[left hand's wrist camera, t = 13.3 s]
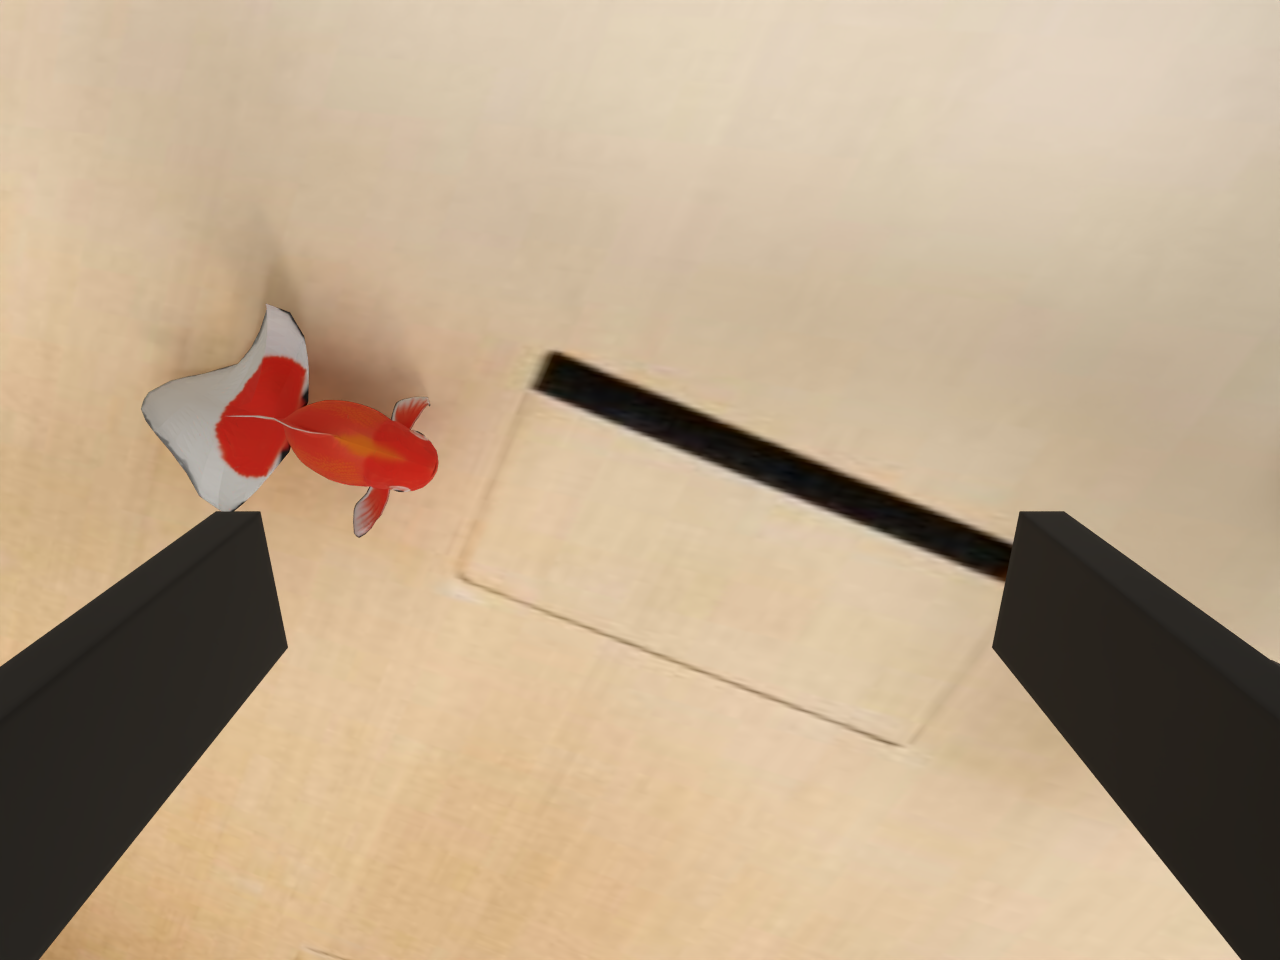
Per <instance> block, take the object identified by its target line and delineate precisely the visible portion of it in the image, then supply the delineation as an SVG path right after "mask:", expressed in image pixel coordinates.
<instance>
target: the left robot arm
mask: <svg viewBox="0 0 1280 960" xmlns="http://www.w3.org/2000/svg"><path fill="white" fill-rule="evenodd" d="M287 648H288V646H287V641H286V636H285V631H284V626H283V621H282V616H281V611H280V606H279V601H278V596H277V591H276V586H275V581H274V576H273V572H272V567H271V562H270V557H269V552H268V547H267V542H266V537H265V532H264V527H263V522H262V517H261V512H260V511H216V512H215V513H213V514H212V515H210V516H209V517H208V518H206V519H205V520H203V521H202V522H201V523H199V524H198V525H197V526H195V527H194V528H192V529H191V530H190V531H188V532H187V533H185V534H184V535H183V536H181V537H180V538H178V539H177V540H176V541H174V542H173V543H172V544H170V545H169V546H167V547H166V548H165V549H163V550H162V551H160V552H159V553H158V554H156V555H155V556H153V557H152V558H151V559H149V560H148V561H147V562H145V563H144V564H142V565H141V566H140V567H138V568H137V569H135V570H134V571H133V572H131V573H130V574H128V575H127V576H126V577H124V578H123V579H122V580H120V581H119V582H117V583H116V584H115V585H113V586H112V587H110V588H109V589H108V590H106V591H105V592H103V593H102V594H101V595H99V596H98V597H96V598H95V599H94V600H92V601H91V602H90V603H88V604H87V605H85V606H84V607H83V608H81V609H80V610H78V611H77V612H76V613H74V614H73V615H71V616H70V617H69V618H67V619H66V620H65V621H63V622H62V623H60V624H59V625H58V626H56V627H55V628H53V629H52V630H51V631H49V632H48V633H46V634H45V635H44V636H42V637H41V638H40V639H38V640H37V641H35V642H34V643H33V644H31V645H30V646H28V647H27V648H26V649H24V650H23V651H21V652H20V653H19V654H17V655H16V656H15V657H13V658H12V659H10V660H9V661H8V662H6V663H5V664H3V665H2V666H1V667H0V960H39V959H40V958H41V956H42V955H43V954H44V953H45V951H46V950H47V949H48V947H49V946H50V945H51V944H52V942H53V941H54V940H55V939H56V937H57V936H58V935H59V934H60V932H61V931H62V930H63V929H64V927H65V926H66V925H67V924H68V922H69V921H70V920H71V919H72V917H73V916H74V915H75V914H76V912H77V911H78V910H79V909H80V907H81V906H82V905H83V904H84V902H85V901H86V900H87V899H88V897H89V896H90V895H91V894H92V892H93V891H94V890H95V889H96V887H97V886H98V885H99V884H100V882H101V881H102V880H103V879H104V877H105V876H106V875H107V874H108V872H109V871H110V870H111V869H112V867H113V866H114V865H115V864H116V862H117V861H118V860H119V859H120V857H121V856H122V855H123V854H124V852H125V851H126V850H127V849H128V847H129V846H130V845H131V843H132V842H133V841H134V840H135V838H136V837H137V836H138V835H139V833H140V832H141V831H142V830H143V828H144V827H145V826H146V825H147V823H148V822H149V821H150V820H151V818H152V817H153V816H154V815H155V813H156V812H157V811H158V810H159V808H160V807H161V806H162V805H163V803H164V802H165V801H166V800H167V798H168V797H169V796H170V795H171V793H172V792H173V791H174V790H175V788H176V787H177V786H178V785H179V783H180V782H181V781H182V780H183V778H184V777H185V776H186V775H187V773H188V772H189V771H190V770H191V768H192V767H193V766H194V765H195V763H196V762H197V761H198V760H199V758H200V757H201V756H202V755H203V753H204V752H205V751H206V750H207V748H208V747H209V746H210V744H211V743H212V742H213V741H214V739H215V738H216V737H217V736H218V734H219V733H220V732H221V731H222V729H223V728H224V727H225V726H226V724H227V723H228V722H229V721H230V719H231V718H232V717H233V716H234V714H235V713H236V712H237V711H238V709H239V708H240V707H241V706H242V704H243V703H244V702H245V701H246V699H247V698H248V697H249V696H250V694H251V693H252V692H253V691H254V689H255V688H256V687H257V686H258V684H259V683H260V682H261V681H262V679H263V678H264V677H265V676H266V674H267V673H268V672H269V671H270V669H271V668H272V667H273V666H274V664H275V663H276V662H277V661H278V659H279V658H280V657H281V656H282V654H283V653H284V652H285V651H286V649H287ZM992 648H993V649H994V651H995V652H996V653H997V654H998V656H999V657H1000V658H1001V659H1002V661H1003V662H1004V663H1005V664H1006V666H1007V667H1008V668H1009V669H1010V671H1011V672H1012V673H1013V674H1014V676H1015V677H1016V678H1017V679H1018V681H1019V682H1020V683H1021V684H1022V686H1023V687H1024V688H1025V689H1026V691H1027V692H1028V693H1029V694H1030V696H1031V697H1032V698H1033V699H1034V701H1035V702H1036V703H1037V704H1038V706H1039V707H1040V708H1041V709H1042V711H1043V712H1044V713H1045V714H1046V716H1047V717H1048V718H1049V719H1050V721H1051V722H1052V723H1053V724H1054V726H1055V727H1056V728H1057V729H1058V731H1059V732H1060V733H1061V734H1062V736H1063V737H1064V738H1065V739H1066V741H1067V742H1068V743H1069V744H1070V746H1071V747H1072V748H1073V750H1074V751H1075V752H1076V753H1077V755H1078V756H1079V757H1080V758H1081V760H1082V761H1083V762H1084V763H1085V765H1086V766H1087V767H1088V768H1089V770H1090V771H1091V772H1092V773H1093V775H1094V776H1095V777H1096V778H1097V780H1098V781H1099V782H1100V783H1101V785H1102V786H1103V787H1104V788H1105V790H1106V791H1107V792H1108V793H1109V795H1110V796H1111V797H1112V798H1113V800H1114V801H1115V802H1116V803H1117V805H1118V806H1119V807H1120V808H1121V810H1122V811H1123V812H1124V813H1125V815H1126V816H1127V817H1128V818H1129V820H1130V821H1131V822H1132V823H1133V825H1134V826H1135V827H1136V828H1137V830H1138V831H1139V832H1140V833H1141V835H1142V836H1143V837H1144V838H1145V840H1146V841H1147V842H1148V843H1149V845H1150V846H1151V847H1152V849H1153V850H1154V851H1155V852H1156V854H1157V855H1158V856H1159V857H1160V859H1161V860H1162V861H1163V862H1164V864H1165V865H1166V866H1167V867H1168V869H1169V870H1170V871H1171V872H1172V874H1173V875H1174V876H1175V877H1176V879H1177V880H1178V881H1179V882H1180V884H1181V885H1182V886H1183V887H1184V889H1185V890H1186V891H1187V892H1188V894H1189V895H1190V896H1191V897H1192V899H1193V900H1194V901H1195V902H1196V904H1197V905H1198V906H1199V907H1200V909H1201V910H1202V911H1203V912H1204V914H1205V915H1206V916H1207V917H1208V919H1209V920H1210V921H1211V922H1212V924H1213V925H1214V926H1215V927H1216V929H1217V930H1218V931H1219V932H1220V934H1221V935H1222V936H1223V937H1224V939H1225V940H1226V941H1227V942H1228V944H1229V945H1230V946H1231V947H1232V949H1233V950H1234V951H1235V953H1236V954H1237V955H1238V956H1239V958H1240V959H1241V960H1280V664H1279V663H1277V662H1275V661H1273V660H1270V659H1268V658H1267V657H1265V656H1264V655H1263V654H1261V653H1260V652H1259V651H1257V650H1256V649H1254V648H1253V647H1252V646H1250V645H1249V644H1247V643H1246V642H1245V641H1243V640H1242V639H1240V638H1239V637H1238V636H1236V635H1235V634H1234V633H1232V632H1231V631H1229V630H1228V629H1227V628H1225V627H1224V626H1222V625H1221V624H1220V623H1218V622H1217V621H1215V620H1214V619H1213V618H1211V617H1210V616H1209V615H1207V614H1206V613H1204V612H1203V611H1202V610H1200V609H1199V608H1197V607H1196V606H1195V605H1193V604H1192V603H1190V602H1189V601H1188V600H1186V599H1185V598H1183V597H1182V596H1181V595H1179V594H1178V593H1177V592H1175V591H1174V590H1172V589H1171V588H1170V587H1168V586H1167V585H1165V584H1164V583H1163V582H1161V581H1160V580H1158V579H1157V578H1156V577H1154V576H1153V575H1152V574H1150V573H1149V572H1147V571H1146V570H1145V569H1143V568H1142V567H1140V566H1139V565H1138V564H1136V563H1135V562H1133V561H1132V560H1131V559H1129V558H1128V557H1127V556H1125V555H1124V554H1122V553H1121V552H1120V551H1118V550H1117V549H1115V548H1114V547H1113V546H1111V545H1110V544H1108V543H1107V542H1106V541H1104V540H1103V539H1102V538H1100V537H1099V536H1097V535H1096V534H1095V533H1093V532H1092V531H1090V530H1089V529H1088V528H1086V527H1085V526H1083V525H1082V524H1081V523H1079V522H1078V521H1077V520H1075V519H1074V518H1072V517H1071V516H1070V515H1068V514H1067V513H1065V512H1064V511H1020V512H1019V517H1018V522H1017V527H1016V532H1015V537H1014V542H1013V547H1012V552H1011V557H1010V562H1009V567H1008V572H1007V576H1006V581H1005V586H1004V591H1003V596H1002V601H1001V606H1000V611H999V616H998V621H997V626H996V631H995V636H994V641H993V646H992Z"/></svg>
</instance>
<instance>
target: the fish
mask: <svg viewBox="0 0 1280 960" xmlns="http://www.w3.org/2000/svg"><path fill="white" fill-rule="evenodd" d="M266 307H267V311H266V314H265V317H264V320H263V323H262V326H261V329H260V332H259V333H258V335H257V337H256V339H255V341H254V343H253V345H252V347H251V349H250V350H249V351H248V352H247V354H246V355H245V356H244V357H243V358H242V360H241V361H240V362H239V363H238V364H236V365H232V366H229V367H225V368H221V369H218V370H215V371H211V372H208V373H205V374H199V375H194V376H189V377H184V378H180V379H176V380H172V381H169V382H167V383H165V384H163V385H162V386H160V387H158V388H156V389H154V390H152V391H150V392H149V393H148V394H147V396H146V397H145V399H144V401H143V404H142V407H141V410H142V413H143V415H144V418H145V420H146V422H147V423H148V424H149V426H150V427H151V428H152V430H153V431H154V432H155V434H156V435H157V436H158V437H159V438H160V440H161V441H162V442H163V443H164V444H165V446H166V447H167V448H168V449H169V450H170V451H171V453H172V454H173V456H174V457H175V458H176V460H177V461H178V462H179V464H180V465H181V466H182V468H183V469H184V470H185V472H186V473H187V475H188V476H189V478H190V480H191V482H192V484H193V485H194V487H195V489H196V491H197V493H198V494H199V496H200V497H201V498H203V499H204V500H206V501H207V502H209V503H210V504H212V505H213V506H214V507H216V508H217V509H219V510H221V511H235V510H236V509H237V508H238V507H240V506H241V505H242V504H243V503H244V502H245V501H246V500H247V499H248V498H249V497H250V496H252V495H253V494H254V493H255V492H256V491H257V490H258V488H259V487H260V486H261V485H262V484H263V483H264V482H265V480H266V479H267V478H268V477H269V476H270V475H271V473H272V472H273V471H274V470H275V468H276V467H277V466H278V465H279V464H280V462H281V461H282V460H283V459H284V458H285V456H286V455H287V454H288V453H289V451H290V447H291V448H292V449H293V451H294V453H295V454H296V455H297V457H298V458H299V459H300V460H301V462H303V463H304V464H305V465H306V466H307V467H309V468H310V469H312V470H313V471H315V472H317V473H318V474H320V475H322V476H324V477H326V478H327V479H330V480H332V481H335V482H339V483H342V484H347V485H355V486H370V487H369V489H368V491H367V493H366V494H365V495H364V496H363V497H362V498H361V499H360V500H359V501H358V502H357V503H356V505H355V508H354V518H353V525H354V534H355V535H356V536H357V537H359V538H360V537H361V536H363V535H365V534H366V533H367V532H368V531H369V530H370V529H371V528H372V526H373V525H374V523H375V522H376V520H377V519H378V518H379V517H380V516H381V515H382V513H383V510H384V508H385V506H386V504H387V501H388V497H389V493H390V489H393V490H395V491H398V492H406V491H414V490H417V489H420V488H423V487H424V486H425V485H427V484H428V483H429V482H430V481H431V480H432V479H433V477H434V475H435V474H436V472H437V468H438V455H437V451H436V449H435V448H434V446H433V445H432V443H431V442H430V441H429V440H428V439H427V438H426V437H425V436H424V435H423V434H422V433H420V432H418V431H412V430H411V428H412V426H413V425H414V423H415V421H416V420H417V418H418V417H419V416H420V414H421V413H422V411H423V410H424V408H425V407H426V406H427V405H429V406H430V402H429V399H428V397H412V398H408V399H403V400H400V401H398V402H397V403H396V405H395V407H394V410H393V413H392V418H391V420H390V419H389V418H388V417H386V416H385V415H383V414H382V413H380V412H379V411H377V410H375V409H372V408H370V407H367V406H364V405H361V404H358V403H353V402H348V401H339V400H324V401H320V402H316V403H313V404H310V405H307V403H308V388H309V366H308V356H307V350H306V344H305V339H304V335H303V334H302V332H301V330H300V329H299V327H298V325H297V324H296V322H295V320H294V318H293V317H292V315H291V313H290V312H287V311H285V310H282V309H279V308H277V307H274V306H271V305H269V304H266ZM306 405H307V406H306Z"/></svg>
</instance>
